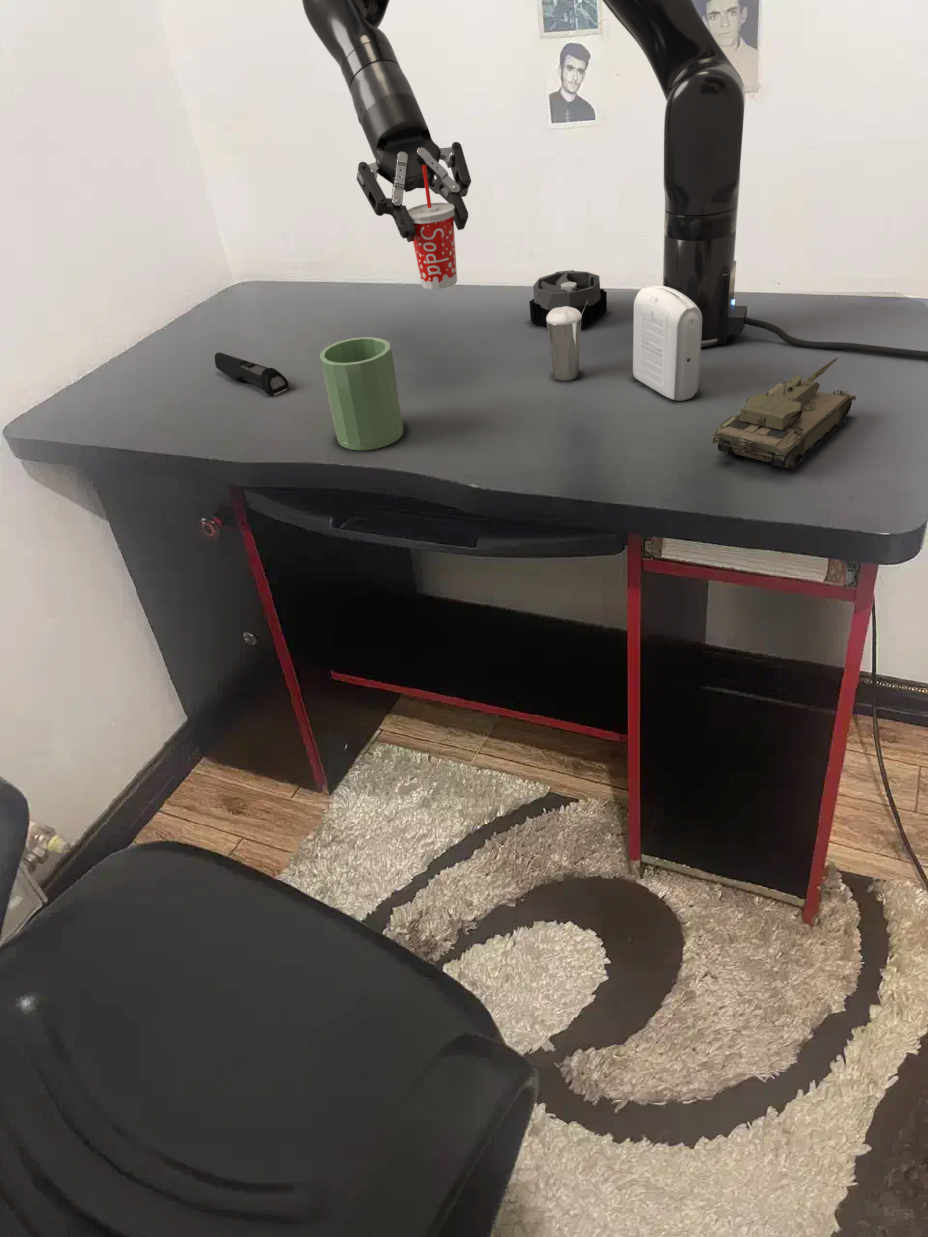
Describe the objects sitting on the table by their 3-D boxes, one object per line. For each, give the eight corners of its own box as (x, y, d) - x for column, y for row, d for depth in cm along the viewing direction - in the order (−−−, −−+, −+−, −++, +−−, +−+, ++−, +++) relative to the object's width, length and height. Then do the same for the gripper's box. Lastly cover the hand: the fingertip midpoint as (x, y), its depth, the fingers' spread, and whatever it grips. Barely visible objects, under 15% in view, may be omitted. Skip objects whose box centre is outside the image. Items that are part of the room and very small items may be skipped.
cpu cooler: (579, 295, 131) (519, 288, 136) (580, 334, 134) (522, 325, 139) (614, 272, 137) (555, 266, 142) (614, 310, 140) (557, 303, 146)
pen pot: (414, 422, 117) (401, 338, 110) (387, 452, 111) (371, 365, 104) (355, 418, 120) (339, 335, 113) (326, 448, 114) (307, 363, 107)
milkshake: (587, 382, 120) (585, 307, 114) (547, 383, 122) (543, 308, 116) (590, 368, 124) (589, 294, 118) (551, 369, 125) (547, 296, 119)
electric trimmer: (233, 367, 140) (227, 346, 138) (292, 388, 130) (286, 366, 128) (212, 375, 138) (206, 355, 136) (270, 397, 128) (264, 376, 126)
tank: (702, 467, 100) (707, 380, 94) (798, 390, 112) (807, 309, 106) (777, 488, 95) (787, 398, 89) (868, 404, 107) (882, 320, 101)
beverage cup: (408, 290, 117) (390, 172, 108) (427, 274, 121) (411, 159, 113) (452, 291, 115) (437, 170, 106) (470, 275, 119) (457, 157, 110)
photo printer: (703, 395, 114) (709, 295, 106) (674, 404, 113) (678, 304, 105) (655, 369, 121) (657, 274, 114) (628, 378, 120) (628, 282, 113)
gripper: (337, 102, 109) (387, 226, 107) (447, 80, 113) (497, 200, 111) (332, 145, 116) (379, 262, 114) (436, 123, 120) (483, 236, 118)
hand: (437, 231), depth 113 cm, fingers closed on beverage cup, 6 cm apart
